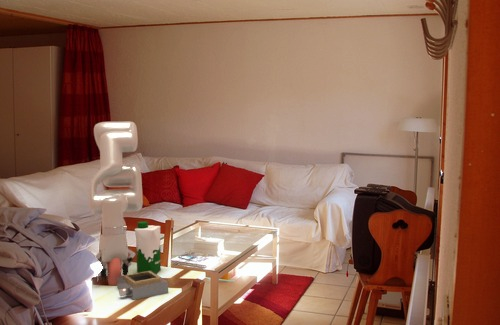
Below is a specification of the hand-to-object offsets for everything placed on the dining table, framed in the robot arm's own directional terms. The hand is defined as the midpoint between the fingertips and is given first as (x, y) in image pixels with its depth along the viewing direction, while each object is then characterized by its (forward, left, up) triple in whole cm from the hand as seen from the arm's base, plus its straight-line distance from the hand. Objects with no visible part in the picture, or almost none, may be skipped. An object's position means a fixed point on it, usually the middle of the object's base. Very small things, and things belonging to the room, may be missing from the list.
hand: (114, 276), depth 204 cm
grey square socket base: (+13, +4, -2) cm, 14 cm away
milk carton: (-6, +16, -3) cm, 17 cm away
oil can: (0, 0, -2) cm, 2 cm away
